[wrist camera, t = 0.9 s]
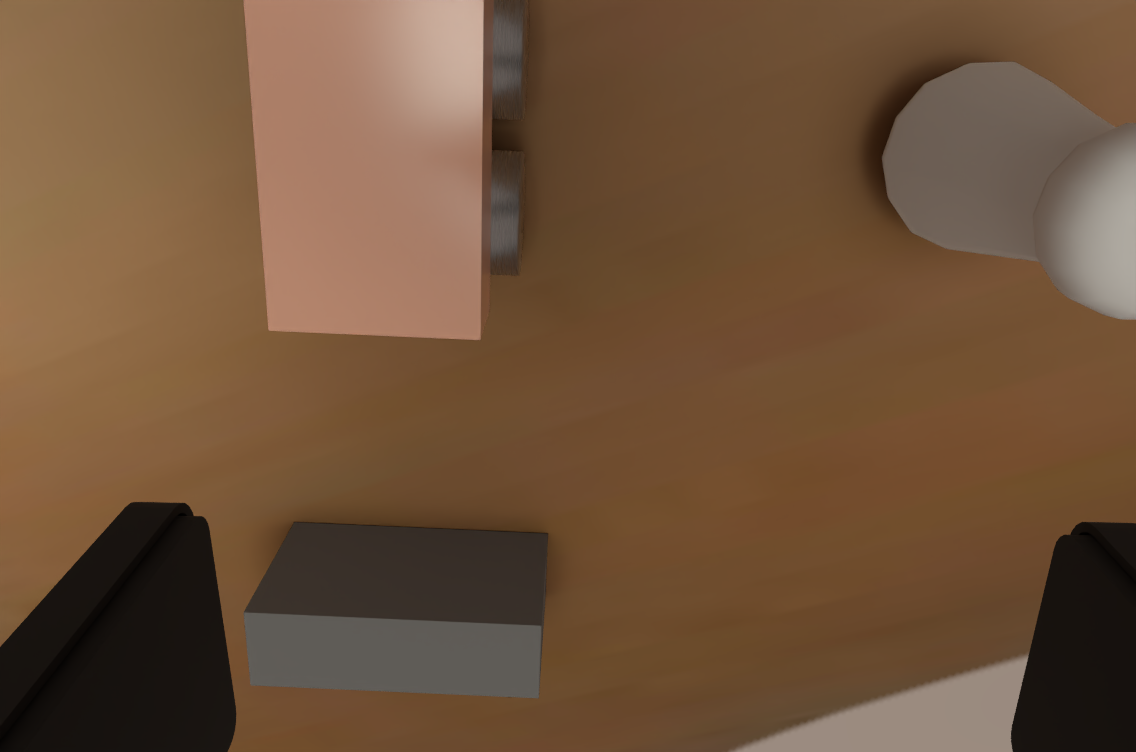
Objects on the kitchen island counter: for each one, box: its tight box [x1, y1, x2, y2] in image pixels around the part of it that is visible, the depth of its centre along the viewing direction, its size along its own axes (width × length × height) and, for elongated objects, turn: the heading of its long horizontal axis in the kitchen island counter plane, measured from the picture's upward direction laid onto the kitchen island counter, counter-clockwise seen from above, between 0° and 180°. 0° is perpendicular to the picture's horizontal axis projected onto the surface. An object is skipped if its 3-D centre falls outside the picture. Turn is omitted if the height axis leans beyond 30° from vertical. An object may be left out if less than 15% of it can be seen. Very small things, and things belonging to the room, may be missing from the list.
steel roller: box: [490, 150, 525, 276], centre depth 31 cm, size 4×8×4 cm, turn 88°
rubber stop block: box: [244, 522, 548, 698], centre depth 35 cm, size 3×10×6 cm, turn 88°
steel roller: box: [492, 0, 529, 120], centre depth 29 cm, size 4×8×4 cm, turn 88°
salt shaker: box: [882, 62, 1136, 319], centre depth 26 cm, size 6×6×13 cm
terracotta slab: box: [244, 0, 494, 340], centre depth 26 cm, size 10×6×3 cm, turn 178°
